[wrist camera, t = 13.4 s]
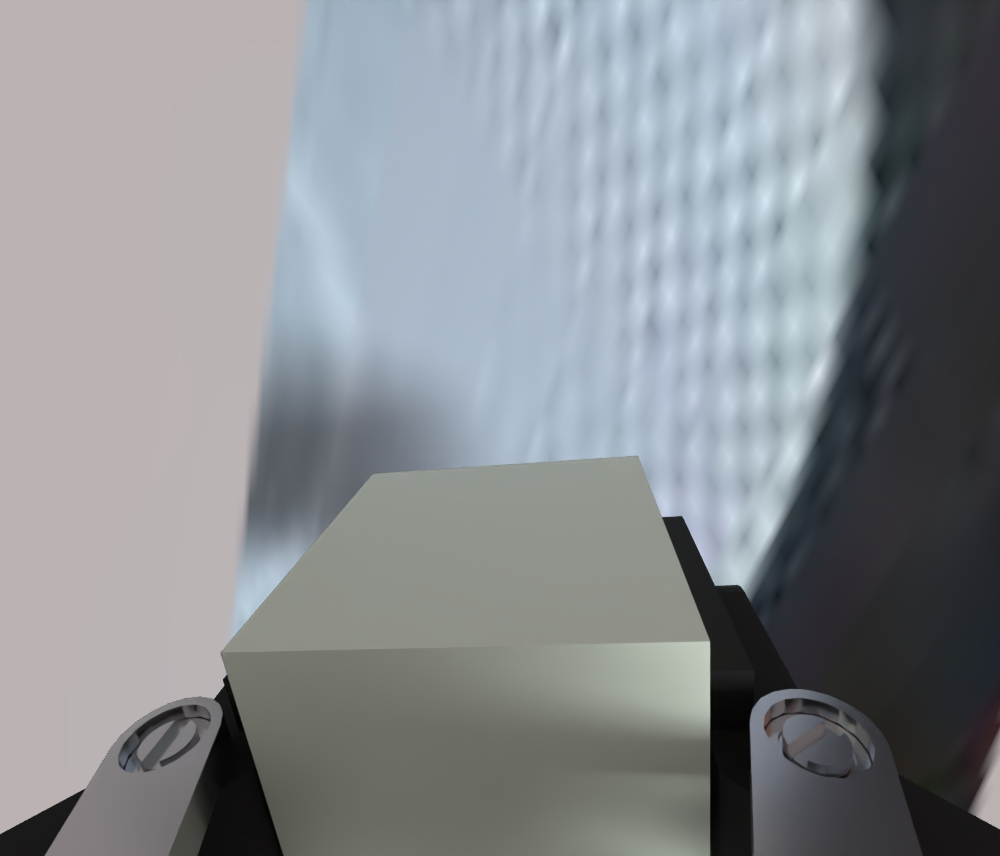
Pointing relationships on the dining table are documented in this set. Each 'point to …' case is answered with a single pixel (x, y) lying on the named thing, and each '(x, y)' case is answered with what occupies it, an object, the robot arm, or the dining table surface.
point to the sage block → (483, 672)
